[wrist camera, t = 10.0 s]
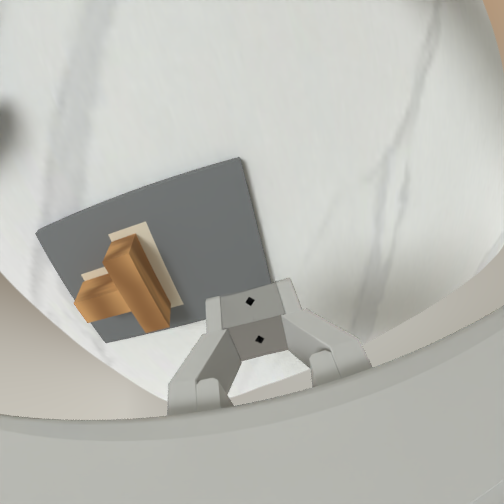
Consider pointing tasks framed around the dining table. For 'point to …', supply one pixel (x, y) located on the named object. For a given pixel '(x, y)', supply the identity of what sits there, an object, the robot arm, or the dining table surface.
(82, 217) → the push board
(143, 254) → the t block
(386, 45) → the dining table surface
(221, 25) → the dining table surface
